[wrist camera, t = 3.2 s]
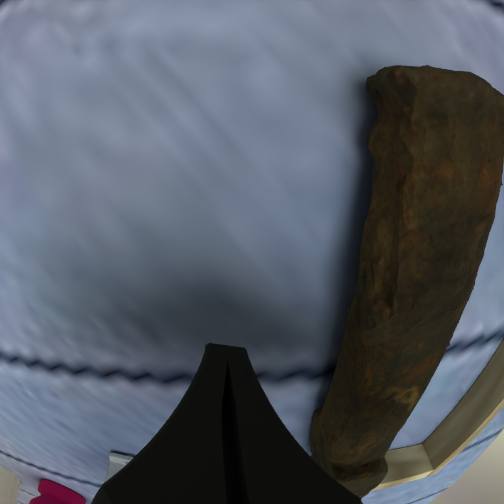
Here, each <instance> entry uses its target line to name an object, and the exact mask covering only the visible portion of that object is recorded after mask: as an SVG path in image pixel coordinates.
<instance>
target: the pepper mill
mask: <svg viewBox="0 0 504 504" xmlns="http://www.w3.org/2000/svg"><path fill="white" fill-rule="evenodd" d="M38 491H39V493H40V494H41V495H40V496H39V497H36V498H33V499H32V500H31V501H30V502H29V504H85V503H86V500H85V499H84V498H83V497H82V496H81V495H79V494H78V493H76V492H74V491H72V490H71V489H69V488H67V487H64V486H62V485H60V484H58V483H55V482H52V481H49V480H45V479H42V480H41V481H40V484H39V487H38Z"/></svg>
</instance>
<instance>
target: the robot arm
mask: <svg viewBox="0 0 504 504" xmlns="http://www.w3.org/2000/svg"><path fill="white" fill-rule="evenodd" d="M109 459H110V464H109V468H108V472H107V476H106V481H105V483H103V484H102V486H101V488H100V489H99V491H98V492H97V494H96V495H95V497H94V499H93V501H92V503H91V504H363V503H362V501H361V498H359V497H358V496H356V495H355V494H354V493H352V492H351V491H349V490H348V489H347V488H345V487H344V486H343V485H341V484H340V483H339V482H337V481H336V480H335V479H334V478H333V477H331V476H330V475H329V474H328V473H327V472H326V471H325V470H323V469H322V468H321V467H320V466H319V465H318V464H317V463H316V462H315V461H314V460H313V459H312V458H311V457H310V456H309V455H308V453H307V452H306V451H305V450H304V449H303V448H302V447H301V446H300V445H299V443H298V442H297V441H296V440H295V439H294V437H293V436H292V435H291V433H290V432H289V431H288V430H287V428H286V427H285V425H284V424H283V423H282V421H281V420H280V418H279V417H278V415H277V413H276V412H275V410H274V409H273V407H272V405H271V404H270V402H269V400H268V398H267V396H266V395H265V393H264V391H263V389H262V387H261V385H260V383H259V381H258V379H257V377H256V374H255V372H254V370H253V367H252V365H251V362H250V360H249V357H248V354H247V351H246V349H245V348H243V347H235V346H227V345H220V344H213V343H208V344H207V345H206V346H205V352H204V355H203V358H202V361H201V364H200V366H199V368H198V371H197V373H196V375H195V377H194V379H193V381H192V383H191V385H190V386H189V388H188V390H187V391H186V393H185V395H184V396H183V398H182V400H181V401H180V403H179V405H178V406H177V407H176V409H175V410H174V412H173V413H172V415H171V416H170V417H169V419H168V420H167V421H166V423H165V424H164V425H163V427H162V428H161V429H160V430H159V431H158V433H157V434H156V435H155V436H154V437H153V438H152V440H151V441H150V442H149V443H148V444H147V445H146V446H145V447H144V448H143V449H142V450H141V451H140V452H139V453H138V454H137V455H136V456H135V457H134V458H133V457H129V456H125V455H121V454H117V453H110V455H109Z"/></svg>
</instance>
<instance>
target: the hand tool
mask: <svg viewBox="0 0 504 504" xmlns="http://www.w3.org/2000/svg"><path fill="white" fill-rule="evenodd" d="M366 90H367V92H368V94H369V95H370V97H371V98H372V100H373V101H374V103H375V104H376V106H377V107H378V117H377V119H376V121H375V123H374V125H373V126H372V128H371V130H370V132H369V134H368V137H367V143H368V147H369V148H368V150H369V152H370V153H371V155H372V156H373V158H374V171H373V178H372V192H371V200H370V207H369V212H368V215H367V218H366V222H365V225H364V228H363V237H362V245H361V248H360V252H359V275H358V279H357V283H356V290H355V293H354V297H353V300H352V304H351V305H350V306H349V308H348V309H347V311H346V315H347V322H346V327H345V332H344V337H343V341H342V344H341V347H340V350H339V356H338V360H337V364H336V368H335V371H334V375H333V378H332V381H331V384H330V387H329V391H328V394H327V397H326V400H325V402H324V405H323V407H321V408H319V409H318V410H316V411H315V412H314V415H313V419H312V426H311V435H310V442H311V451H312V455H311V457H312V459H313V460H314V461H315V462H316V463H317V464H318V465H319V466H320V467H321V468H322V469H323V470H325V471H326V472H327V473H328V474H329V475H330V476H331V477H333V478H334V479H335V480H336V481H337V482H339V483H340V484H341V485H343V486H344V487H345V488H347V489H348V490H349V491H351V492H352V493H354V494H355V495H356V496H358V497H359V498H361V499H362V497H364V496H365V495H367V494H368V493H369V492H370V491H371V490H373V489H375V488H376V487H377V486H379V484H380V483H381V482H382V480H383V479H384V478H385V476H386V474H387V472H388V465H387V462H386V460H385V454H386V452H387V451H388V449H389V447H390V445H391V443H392V441H393V440H394V438H395V436H396V435H397V433H398V431H399V430H400V429H401V428H402V427H403V425H404V424H405V422H406V421H407V419H408V417H409V416H410V414H411V413H412V411H413V409H414V408H415V406H416V404H417V403H418V401H419V400H420V398H421V396H422V395H423V393H424V391H425V389H426V388H427V386H428V384H429V382H430V380H431V378H432V377H433V375H434V373H435V371H436V369H437V367H438V365H439V363H440V361H441V359H442V357H443V355H444V353H445V351H446V348H447V346H448V345H449V346H450V340H451V338H452V336H453V333H454V331H455V329H456V327H457V324H458V323H459V320H460V318H461V315H462V313H463V310H464V308H465V306H466V304H467V302H468V300H469V298H470V295H471V292H472V290H473V289H474V288H473V287H474V285H475V279H476V276H477V272H478V268H479V266H480V263H481V261H482V258H483V256H484V250H485V247H486V243H487V240H488V236H489V232H490V230H491V227H492V224H493V221H494V218H495V210H496V204H497V201H498V197H499V192H500V187H501V185H503V184H502V173H503V163H504V95H503V94H502V93H500V92H499V91H497V90H496V89H495V88H493V87H492V86H491V84H489V83H488V82H487V81H485V80H484V79H483V78H481V77H479V76H477V75H475V74H473V73H471V72H465V71H453V70H447V69H441V68H434V67H431V66H428V65H426V66H421V67H415V66H400V65H397V66H391V67H384V68H383V69H381V70H379V71H378V72H377V73H376V75H373V76H371V77H368V78H367V81H366Z"/></svg>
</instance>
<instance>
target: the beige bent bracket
mask: <svg viewBox="0 0 504 504" xmlns="http://www.w3.org/2000/svg"><path fill="white" fill-rule="evenodd" d="M503 406H504V340H503V341H502V343H501V344H500V346H499V348H498V349H497V351H496V352H495V354H494V355H493V357H492V359H491V360H490V362H489V363H488V364H487V366H486V367H485V369H484V370H483V372H482V373H481V375H480V376H479V377H478V379H477V380H476V381H475V383H474V384H473V385H472V387H471V388H470V389H469V391H468V392H467V393H466V395H465V396H464V397H463V398H462V400H461V401H460V402H459V403H458V405H457V406H456V407H455V408H454V409H453V411H452V412H451V413H450V414H449V415H448V416H447V418H446V419H445V420H444V421H443V422H442V423H441V424H440V425H439V427H438V428H437V429H436V430H435V431H434V432H433V433H432V434H431V435H430V436H429V437H428V438H427V439H426V440H425V441H424V442H423V443H422V444H419V445H414V446H410V447H405V448H400V449H394V450H388V451H387V452H386V454H385V460H386V462H387V465H388V472H387V474H386V476H385V478H384V479H383V480H382V482H381V483H380V484H379V486H377V487H376V488H375V489H373V490H377V489H382V488H386V487H391V486H395V485H399V484H403V483H406V482H410V481H414V480H417V479H420V478H424V477H427V476H430V475H433V474H436V473H437V472H438V471H439V470H440V469H442V468H443V467H444V466H445V465H446V464H447V463H448V462H450V461H451V460H452V459H453V458H454V457H455V456H456V455H457V454H458V453H460V452H461V451H462V450H463V449H464V448H465V447H466V446H467V445H468V444H469V443H470V442H471V441H472V440H473V439H474V438H475V437H476V436H477V435H478V434H479V433H480V432H481V431H482V430H483V429H484V428H485V426H486V425H487V424H488V423H489V422H490V421H491V420H492V419H493V418H494V416H495V415H496V414H497V413H498V412H499V411H500V410H501V408H502V407H503ZM373 490H371V491H373Z"/></svg>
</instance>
